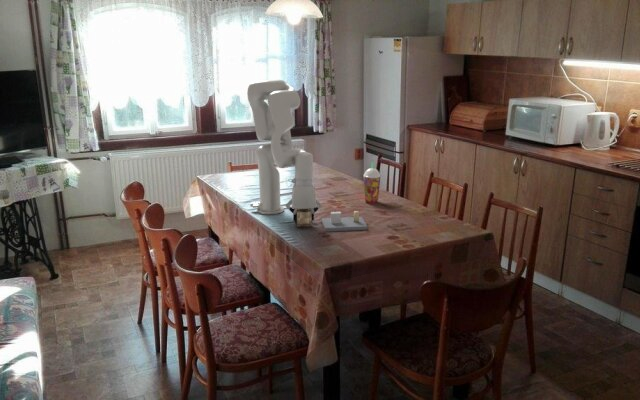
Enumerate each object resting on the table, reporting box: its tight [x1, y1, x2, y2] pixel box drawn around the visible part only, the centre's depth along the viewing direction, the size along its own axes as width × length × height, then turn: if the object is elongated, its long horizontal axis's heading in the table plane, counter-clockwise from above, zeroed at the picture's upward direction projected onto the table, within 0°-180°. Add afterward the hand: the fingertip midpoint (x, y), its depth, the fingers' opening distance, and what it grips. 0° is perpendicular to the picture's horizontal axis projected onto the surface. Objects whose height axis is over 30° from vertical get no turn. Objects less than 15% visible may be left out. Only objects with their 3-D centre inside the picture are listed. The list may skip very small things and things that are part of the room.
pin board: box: [320, 210, 368, 232], centre depth 232 cm, size 18×13×6 cm
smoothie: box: [363, 162, 381, 205], centre depth 263 cm, size 8×8×20 cm
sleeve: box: [296, 209, 313, 227], centre depth 230 cm, size 6×8×6 cm
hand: (303, 221), depth 231 cm, fingers closed on sleeve, 6 cm apart
